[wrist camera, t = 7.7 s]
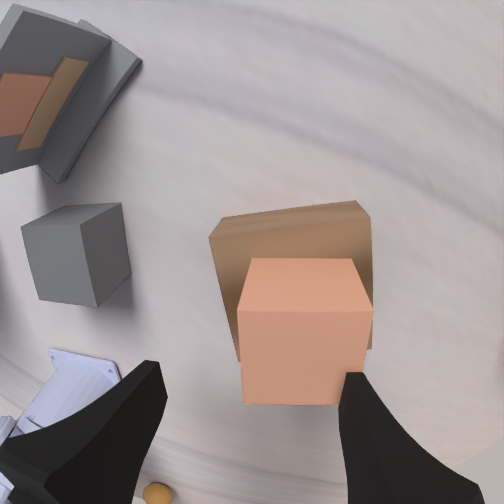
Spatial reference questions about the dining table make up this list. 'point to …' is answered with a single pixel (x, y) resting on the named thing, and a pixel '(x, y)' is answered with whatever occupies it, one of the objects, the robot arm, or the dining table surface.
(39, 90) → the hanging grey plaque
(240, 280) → the walnut base block
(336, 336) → the terracotta cube
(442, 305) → the dining table surface
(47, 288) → the charcoal cube
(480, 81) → the dining table surface
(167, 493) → the figurine
